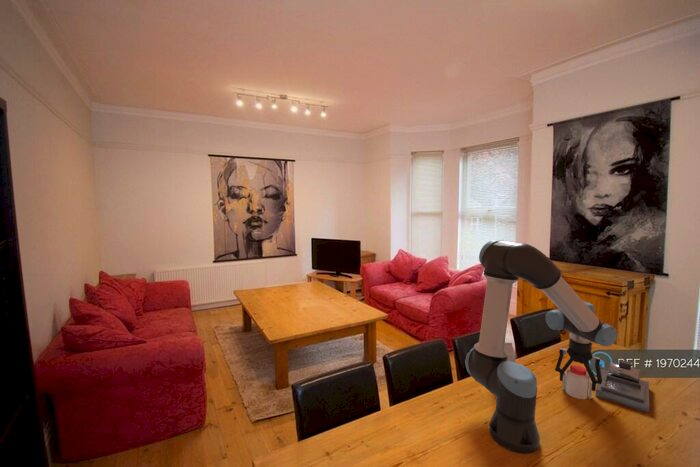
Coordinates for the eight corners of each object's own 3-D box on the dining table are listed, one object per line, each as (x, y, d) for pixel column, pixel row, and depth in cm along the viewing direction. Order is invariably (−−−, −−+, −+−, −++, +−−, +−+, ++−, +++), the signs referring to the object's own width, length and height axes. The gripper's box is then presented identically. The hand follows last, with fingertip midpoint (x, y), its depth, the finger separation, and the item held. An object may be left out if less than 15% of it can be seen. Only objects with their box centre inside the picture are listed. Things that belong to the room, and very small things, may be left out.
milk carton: (513, 389, 137) (516, 346, 135) (496, 389, 137) (498, 346, 135) (506, 380, 144) (508, 339, 142) (489, 380, 144) (491, 338, 142)
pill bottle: (561, 391, 136) (562, 365, 135) (572, 386, 140) (574, 362, 138) (580, 401, 129) (582, 374, 128) (592, 396, 133) (594, 370, 132)
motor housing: (648, 413, 122) (651, 387, 121) (595, 396, 133) (597, 372, 132) (647, 388, 138) (650, 365, 137) (600, 375, 149) (602, 354, 148)
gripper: (614, 344, 128) (609, 399, 130) (552, 330, 142) (548, 379, 144) (613, 350, 122) (608, 408, 125) (548, 335, 136) (545, 387, 139)
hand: (576, 392), depth 134 cm, fingers open, 8 cm apart
